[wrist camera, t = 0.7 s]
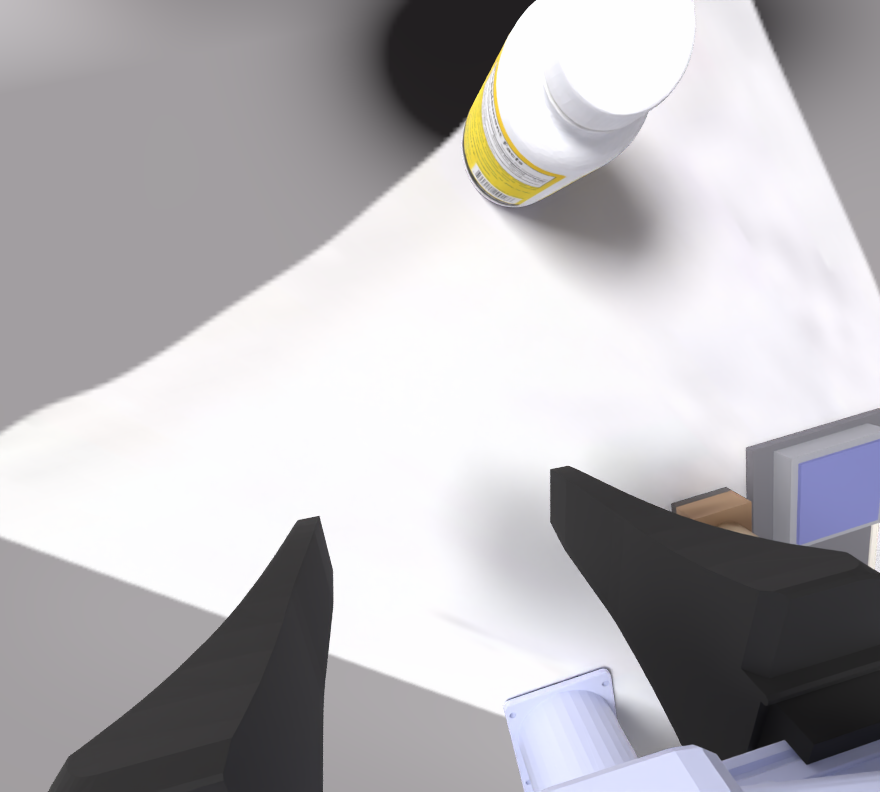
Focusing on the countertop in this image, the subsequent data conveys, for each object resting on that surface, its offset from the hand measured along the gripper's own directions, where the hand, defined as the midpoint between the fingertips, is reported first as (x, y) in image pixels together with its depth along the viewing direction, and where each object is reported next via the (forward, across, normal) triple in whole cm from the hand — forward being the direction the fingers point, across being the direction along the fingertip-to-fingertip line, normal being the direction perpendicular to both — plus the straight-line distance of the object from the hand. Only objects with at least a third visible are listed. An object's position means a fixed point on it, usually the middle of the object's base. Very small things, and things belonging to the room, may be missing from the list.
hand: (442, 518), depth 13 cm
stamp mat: (+8, -28, +15) cm, 33 cm away
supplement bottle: (+12, -7, -12) cm, 18 cm away
